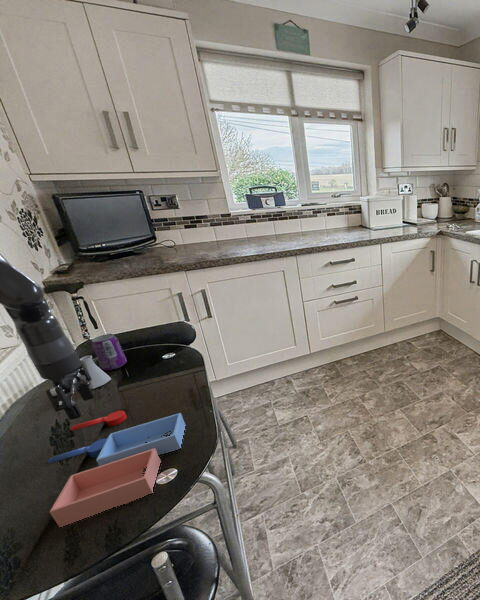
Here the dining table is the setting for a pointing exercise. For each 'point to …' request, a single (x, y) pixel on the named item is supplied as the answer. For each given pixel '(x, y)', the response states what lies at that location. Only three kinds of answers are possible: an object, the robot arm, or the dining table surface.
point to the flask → (94, 373)
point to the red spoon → (110, 420)
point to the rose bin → (106, 487)
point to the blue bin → (144, 439)
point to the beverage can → (108, 351)
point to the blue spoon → (82, 451)
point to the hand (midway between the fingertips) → (83, 408)
